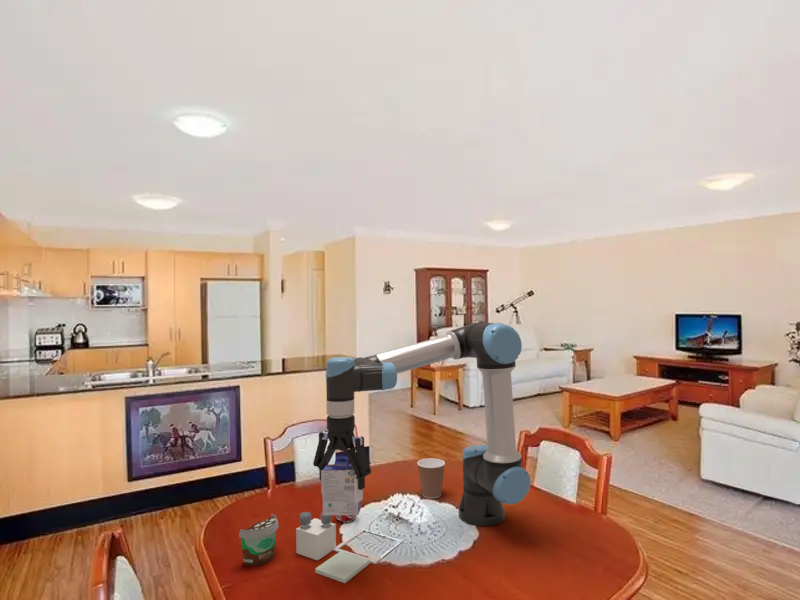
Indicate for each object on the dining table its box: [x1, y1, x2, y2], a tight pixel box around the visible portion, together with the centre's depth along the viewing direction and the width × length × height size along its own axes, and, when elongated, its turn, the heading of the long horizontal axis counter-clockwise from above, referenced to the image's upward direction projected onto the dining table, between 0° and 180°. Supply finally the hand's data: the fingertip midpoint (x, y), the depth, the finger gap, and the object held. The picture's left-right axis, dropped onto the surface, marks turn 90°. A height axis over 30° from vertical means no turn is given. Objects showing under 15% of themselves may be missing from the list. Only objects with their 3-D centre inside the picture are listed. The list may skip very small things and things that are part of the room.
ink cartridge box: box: [321, 455, 362, 516], centre depth 132 cm, size 10×6×14 cm, turn 89°
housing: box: [295, 517, 382, 565], centre depth 143 cm, size 23×22×7 cm
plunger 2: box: [320, 511, 333, 528], centre depth 142 cm, size 3×3×6 cm
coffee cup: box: [417, 457, 446, 500], centre depth 182 cm, size 10×10×12 cm
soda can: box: [335, 515, 357, 523], centre depth 162 cm, size 7×7×12 cm
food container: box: [238, 513, 279, 566], centre depth 137 cm, size 12×6×10 cm, turn 148°
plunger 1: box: [299, 511, 312, 529], centre depth 141 cm, size 3×3×6 cm
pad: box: [314, 550, 371, 584], centre depth 132 cm, size 10×11×1 cm
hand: (341, 496), depth 132 cm, fingers closed on ink cartridge box, 11 cm apart
